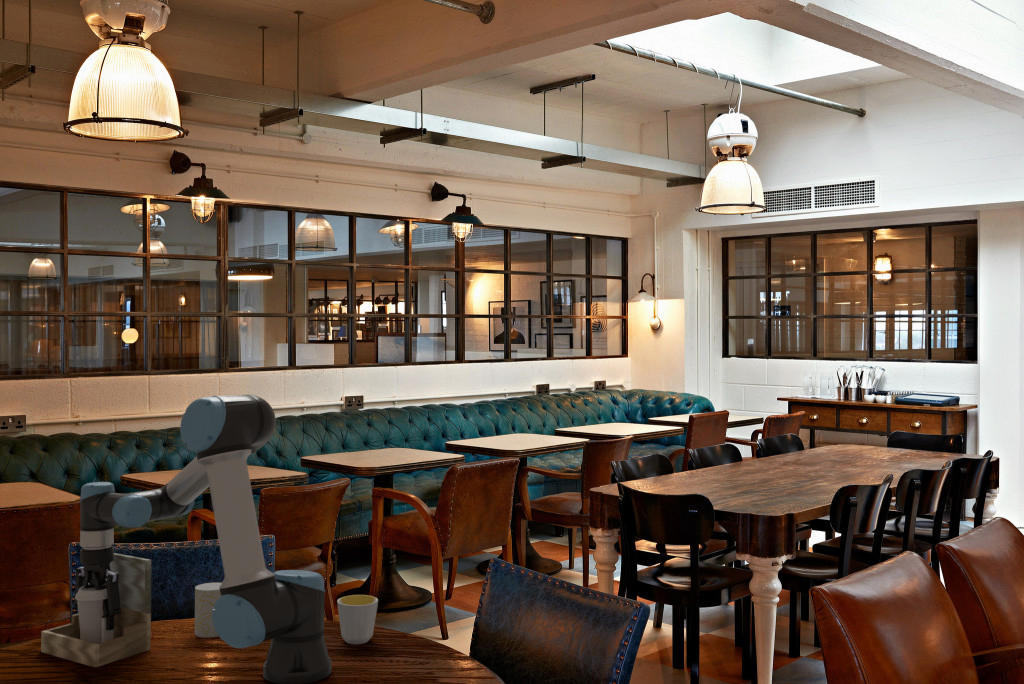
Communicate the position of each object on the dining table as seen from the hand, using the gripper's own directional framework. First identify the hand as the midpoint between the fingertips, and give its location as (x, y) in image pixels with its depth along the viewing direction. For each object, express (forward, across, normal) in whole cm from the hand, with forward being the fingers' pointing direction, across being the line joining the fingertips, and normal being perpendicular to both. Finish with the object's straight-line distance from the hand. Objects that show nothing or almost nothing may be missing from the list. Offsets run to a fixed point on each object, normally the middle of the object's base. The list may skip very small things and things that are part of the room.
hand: (96, 640), depth 226 cm
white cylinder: (+3, -12, -25) cm, 28 cm away
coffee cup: (+2, 0, 0) cm, 2 cm away
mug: (+3, -48, -41) cm, 63 cm away
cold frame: (+3, 0, 0) cm, 3 cm away
